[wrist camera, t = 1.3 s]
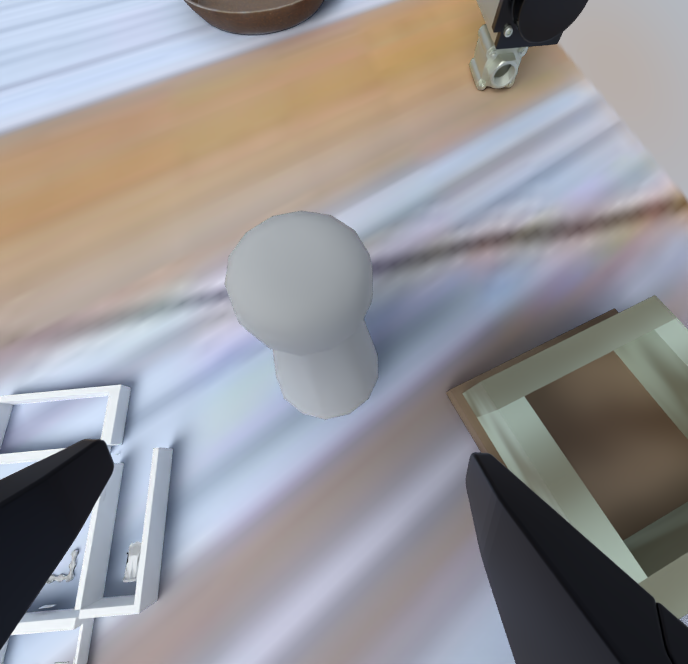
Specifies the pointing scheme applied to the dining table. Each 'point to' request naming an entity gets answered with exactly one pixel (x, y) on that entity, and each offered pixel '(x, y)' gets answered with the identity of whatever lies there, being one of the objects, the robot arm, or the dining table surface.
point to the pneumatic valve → (516, 35)
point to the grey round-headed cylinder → (308, 308)
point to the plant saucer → (254, 14)
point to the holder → (601, 437)
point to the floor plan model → (101, 528)
